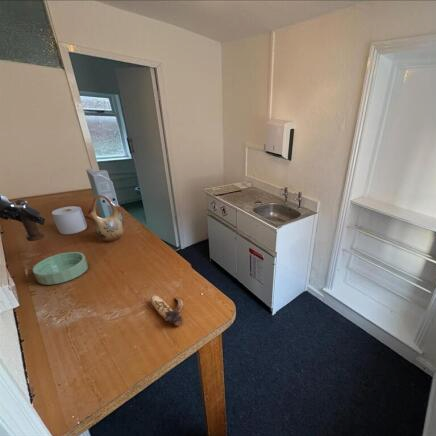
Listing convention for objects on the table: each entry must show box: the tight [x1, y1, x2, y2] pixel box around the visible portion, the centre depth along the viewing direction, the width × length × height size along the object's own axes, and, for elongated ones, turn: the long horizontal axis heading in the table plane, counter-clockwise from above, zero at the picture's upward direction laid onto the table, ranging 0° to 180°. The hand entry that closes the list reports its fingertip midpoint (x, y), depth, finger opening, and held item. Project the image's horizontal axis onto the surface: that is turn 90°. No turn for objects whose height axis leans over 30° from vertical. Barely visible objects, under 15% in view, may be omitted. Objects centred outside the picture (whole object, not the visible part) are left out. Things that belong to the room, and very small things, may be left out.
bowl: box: [32, 251, 89, 286], centre depth 96 cm, size 16×16×6 cm
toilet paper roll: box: [51, 206, 88, 235], centre depth 127 cm, size 12×12×12 cm
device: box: [85, 168, 123, 223], centre depth 137 cm, size 16×8×30 cm, turn 48°
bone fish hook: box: [150, 294, 184, 327], centre depth 83 cm, size 9×5×18 cm
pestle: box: [13, 198, 45, 242], centre depth 95 cm, size 5×5×18 cm
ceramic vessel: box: [83, 195, 125, 243], centre depth 118 cm, size 16×9×25 cm, turn 140°
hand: (37, 221), depth 100 cm, fingers closed on pestle, 4 cm apart
